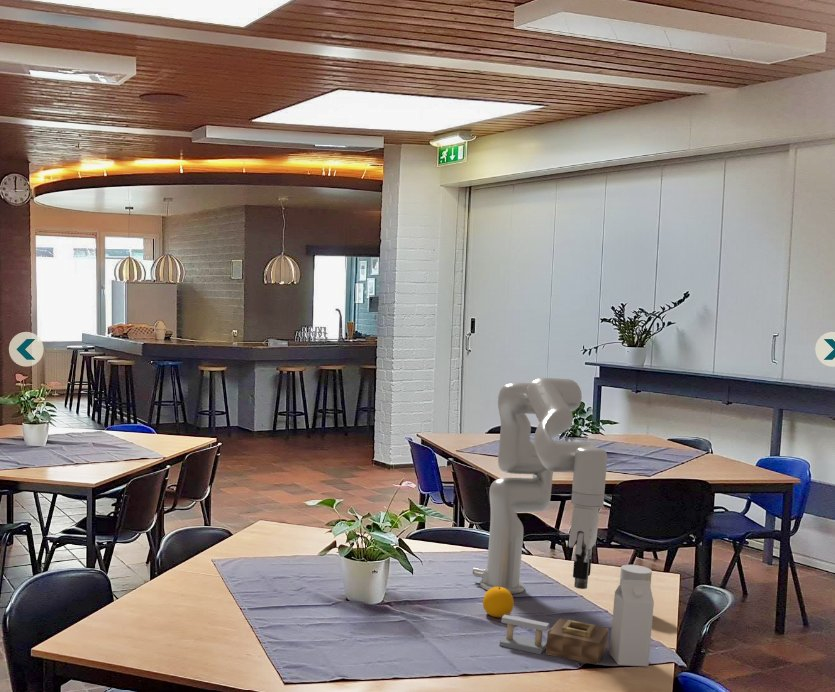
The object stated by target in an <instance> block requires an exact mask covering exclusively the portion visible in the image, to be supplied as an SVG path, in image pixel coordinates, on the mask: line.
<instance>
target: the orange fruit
mask: <svg viewBox="0 0 835 692" xmlns="http://www.w3.org/2000/svg"><path fill="white" fill-rule="evenodd" d="M514 601H515V600H514V597H513V594H511V593H510V592H509V591H508V590H507V589H506V588H503V587H493V588H491V589H489V590H486V591H485V594H484V595H483V599H482V606H483V609H484V611H485V613H486V614H488V615H489V616H491V617H493V618H494V617H495V618H502V617H503V616H504V615H510V614H511V613H512V612H513V610H514V605H515V604H514V603H515V602H514Z"/></svg>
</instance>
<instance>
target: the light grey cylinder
mask: <svg viewBox="0 0 835 692" xmlns="http://www.w3.org/2000/svg"><path fill="white" fill-rule="evenodd" d="M652 573H653V570H652V569H650V568H649V567H646V566H641V565H636V564H623V565H621V566H620V576H619V581H620V580H621V579H622V580H642V581H651V582H650V587H651V585H652V575H653V574H652Z"/></svg>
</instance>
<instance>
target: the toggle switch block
mask: <svg viewBox="0 0 835 692" xmlns="http://www.w3.org/2000/svg"><path fill="white" fill-rule="evenodd" d="M609 630H610V629H609V627H604V626H600V625H596V624H593V623H592V624H591V623H587V622H582V621H577V620H572V619H564V618H559V619H557V621H556V622H555V623H554V624H553V625H552V627H551V628H549V630H548V631H547V633H546V635H547V636H546V642H547V646H546V648H545V650H546V651H545V654H546V655H549V656H553V657H557V658H558V657H559V658H563V659H568V660H573V661H577V662H582V663H587V664H592V665H596V666H597V665H598V664H599V662H601V659H602V657H603V655H604V654H605V652H606V651H607V649H608V640H609Z"/></svg>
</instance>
